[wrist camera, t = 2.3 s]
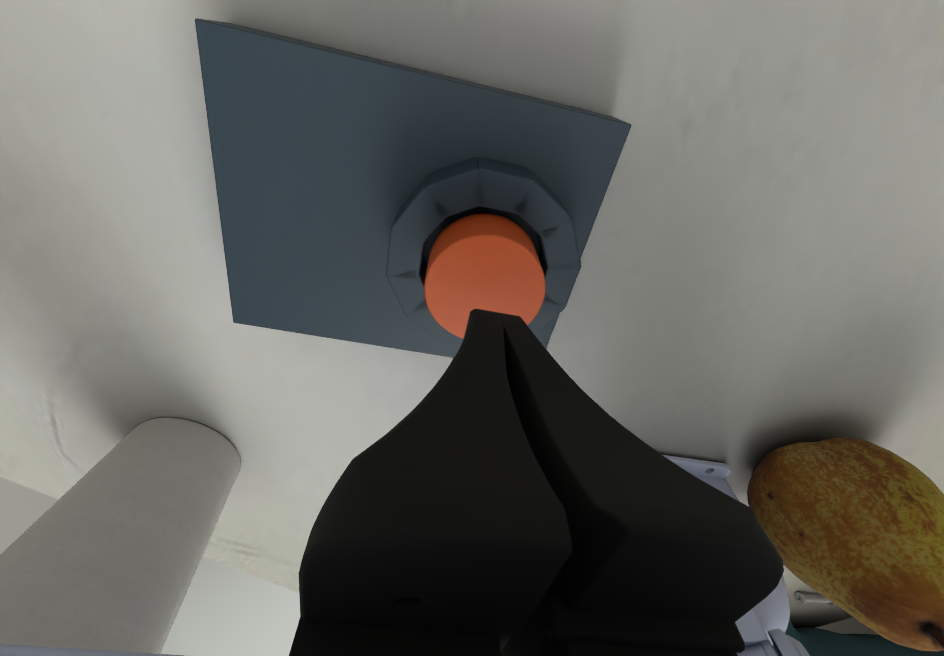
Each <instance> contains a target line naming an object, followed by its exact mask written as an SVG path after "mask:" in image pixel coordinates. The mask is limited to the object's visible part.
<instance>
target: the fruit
mask: <svg viewBox="0 0 944 656" xmlns="http://www.w3.org/2000/svg"><path fill="white" fill-rule="evenodd" d="M747 497H748V504H749V507H750V508H751V510H752V511H753V513H754V515H755V516H756V518H757V519H758V521H759V523H760V524H761V526H762V527H763V529H764V531H765V532H766V534H767V535H768V537H769V539H770V540H771V542H772V543H773V545H774V547H775V548H776V550H777V552H778V553H779V555H780V556H781V558H782V560H783V565H785V566H786V567H787V568H788V569H789V570H790V571H791V572H792V573H793V574H794V575H795V576H796V577H798V578H799V579H800V580H802V581H803V582H804V583H805V584H807V585H808V586H809V587H811V588H812V589H814V590H815V591H817V592H818V593H820V594H821V595H822V596H824V597H825V598H827V599H829V600H830V601H832V602H833V603H835V604H836V605H837V606H839V607H840V608H842V609H843V610H845V611H846V612H847V613H849V614H850V615H851V616H853V617H854V618H855V619H857V620H858V621H859V622H861V623H862V624H864V625H865V626H867V627H868V628H870V629H871V630H873V631H874V632H876V633H877V634H879V635H880V636H882V637H883V638H885V639H888V640H890V641H892V642H894V643H896V644H899V645H902V646H906V647H910V648H913V649H917V650H921V651H941V650H942V651H944V494H943V493H942V492H941V491H940V489H939V488H938V487H937V486H936V485H935V484H934V483H933V482H932V481H931V479H930V478H929V477H927V476H926V475H925V474H924V473H923V472H921V471H920V470H919V469H918V468H916V467H915V466H914V465H912V464H911V463H909V462H907V461H906V460H904V459H902V458H901V457H899V456H897V455H896V454H894V453H892V452H891V451H889V450H886V449H884V448H882V447H879V446H877V445H875V444H872V443H870V442H867V441H862V440H858V439H853V438H845V437H838V438H830V439H825V440H821V441H818V442H799V443H795V444H791V445H787V446H783V447H781V448H778V449H775V450H773V451H771V452H770V453H768V454H767V455H766V456H765V457H764V458H763V459H762V460H761V462H760V463H759V464H758V466H757V467H756V469H755V470H754V472H753V474H752V476H751V479H750V482H749V485H748V490H747Z"/></svg>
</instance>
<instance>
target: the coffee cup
mask: <svg viewBox="0 0 944 656" xmlns="http://www.w3.org/2000/svg"><path fill="white" fill-rule="evenodd" d="M240 466H241V461H240V457H239V454H238V452H237V450H236V449H235V448H234V446H233V445H232V444H231V443H230V442H229V441H228V440H227V439H226V438H225V437H223V436H222V435H221V434H219V433H218V432H216V431H214V430H212V429H211V428H209V427H206V426H204V425H202V424H199V423H196V422H193V421H189V420H184V419H178V418H156V419H151V420H148V421H145V422H143V423H141V424H139V425H138V426H137V427H136V428H135V429H134V430H132V431H131V432H130V433H129V434H128V435H127V436H126V437H125V438H124V439H123V440H122V441H121V442H120V443H119V444H118V445H117V446H115V447H114V448H113V449H112V450H111V451H110V452H109V453H108V454H107V455H106V456H105V457H104V458H103V459H102V460H101V461H100V462H98V463H97V464H96V465H95V466H94V467H93V468H92V469H91V470H90V471H89V472H88V473H87V474H86V475H85V476H84V477H83V478H82V479H80V480H79V481H78V482H77V483H76V484H75V485H74V486H73V487H72V488H71V489H70V490H69V491H68V492H67V493H66V494H65V495H63V496H62V497H61V498H60V499H59V500H58V501H57V502H56V503H55V504H54V505H53V506H52V507H51V508H50V509H49V510H48V511H46V512H45V513H44V514H43V515H42V516H41V517H40V518H39V519H38V520H37V521H36V522H35V523H34V524H33V525H32V526H31V527H29V529H27V531H25V532H24V533H23V534H22V535H21V536H20V537H19V538H18V539H17V540H16V541H15V542H13V543H12V544H11V545H10V546H9V547H8V548H7V549H6V550H5V551H4V552H3V553H2V554H1V555H0V644H10V645H26V646H42V647H57V648H73V649H88V650H104V651H120V652H135V653H151V654H160V653H161V650H162V648H163V646H164V644H165V641H166V639H167V637H168V634H169V632H170V630H171V627H172V625H173V623H174V620H175V618H176V616H177V613H178V611H179V609H180V607H181V604H182V602H183V599H184V597H185V595H186V593H187V590H188V588H189V586H190V583H191V581H192V579H193V576H194V574H195V572H196V569H197V567H198V565H199V563H200V560H201V558H202V556H203V553H204V551H205V549H206V546H207V544H208V542H209V540H210V537H211V535H212V533H213V530H214V528H215V526H216V523H217V521H218V519H219V516H220V514H221V512H222V510H223V507H224V505H225V503H226V500H227V498H228V496H229V493H230V491H231V489H232V487H233V484H234V482H235V480H236V477H237V475H238V473H239V470H240Z"/></svg>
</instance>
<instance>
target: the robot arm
mask: <svg viewBox="0 0 944 656" xmlns="http://www.w3.org/2000/svg"><path fill="white" fill-rule="evenodd" d="M730 473H731V468H730V467H729V465H728V464H725V463H718V462H711V461H704V460H696V459H689V458H682V457H675V456H668V455H661V454H660V453H658V452H657V451H656V450H654V449H653V448H651V447H650V446H648V445H647V444H646V443H644V442H643V441H642V440H640V439H639V438H638V437H636V436H635V435H634V434H633V433H631V432H630V431H629V430H627V429H626V428H625V427H623V426H622V425H621V424H620V423H618V422H617V421H616V420H615V419H614V418H612V417H611V416H610V415H609V414H608V413H606V412H605V411H604V410H603V409H602V408H601V407H600V406H599V405H598V404H597V403H595V402H594V401H593V400H592V399H591V398H590V397H589V396H588V395H587V394H586V393H585V392H584V391H583V390H582V389H581V388H580V387H579V386H578V385H577V384H576V383H575V382H574V381H573V380H572V379H571V378H570V377H569V376H568V374H567V373H566V372H565V371H564V370H563V369H562V368H561V367H560V366H559V364H558V363H557V362H556V361H555V360H554V358H553V357H552V356H551V355H550V354H549V352H548V351H547V350H546V349H545V347H544V346H543V345H542V344H541V342H540V341H539V340H538V338H537V337H536V336H535V335H534V333H533V332H532V331H531V329H530V328H529V327H528V326H527V324H526V323H525V322H524V320H523V319H522V318H521V317H520V316H516V315H510V314H504V313H499V312H493V311H487V310H482V309H476V308H475V309H473V310H472V311H470V314H469V319H468V323H467V327H466V331H465V335H464V339H463V342H462V344H461V347H460V348H459V350H458V352H457V354H456V355H455V357H454V359H453V360H452V362H451V364H450V365H449V367H448V368H447V370H446V371H445V373H444V374H443V376H442V377H441V378H440V380H439V381H438V382H437V384H436V385H435V386H434V387H433V389H432V390H431V391H430V392H429V393H428V394H427V395H426V397H425V398H424V399H423V400H422V401H421V402H420V403H419V404H418V405H417V406H416V407H415V409H414V410H413V411H412V412H410V413H409V414H408V415H407V416H406V417H405V418H404V419H403V420H402V421H401V422H399V423H398V424H397V425H396V426H395V427H394V428H393V429H392V430H391V431H389V432H388V433H387V434H386V435H385V436H383V437H382V438H381V439H379V440H378V441H377V442H375V443H374V444H373V445H371V446H370V447H369V448H367V449H366V450H365V451H363V452H362V453H360V454H359V455H358V456H356V457H355V458H354V459H352V461H351V462H350V464H349V465H348V467H347V468H346V470H345V471H344V473H343V474H342V476H341V477H340V479H339V480H338V482H337V483H336V485H335V486H334V488H333V490H332V491H331V493H330V494H329V496H328V498H327V500H326V501H325V503H324V505H323V507H322V509H321V511H320V513H319V515H318V517H317V519H316V521H315V523H314V526H313V528H312V530H311V533H310V536H309V539H308V542H307V546H306V549H305V552H304V555H303V559H302V562H301V567H300V571H299V590H300V614H301V617H300V620H299V624H298V627H297V630H296V634H295V637H294V641H293V644H292V647H291V651H290V654H289V656H810V655H809V653H808V652H807V650H806V649H805V648H804V646H803V645H802V644H801V643H800V642H799V641H797V640H796V639H794V638H792V637H791V636H789V635H786V634H785V631H786V629H787V626H788V623H789V618H790V605H789V597H788V592H787V588H786V584H785V581H784V578H783V576H782V574H783V572H784V568H783V560H782V558H781V556H780V555H779V553H778V552H777V550H776V548H775V547H774V545H773V543H772V542H771V540H770V539H769V537H768V535H767V534H766V532H765V531H764V529H763V527H762V526H761V524H760V523H759V521H758V519H757V518H756V516H755V515H754V513H753V511H752V510H751V508H750V507H748V506H746V505H744V504H743V503H741V502H739V501H738V499H737V497H736V496H735V494H734V492H733V491H732V489H731V488H730V486H729V484H728V483H727V481H726V478H727V477H728V476H729V474H730ZM772 645H773V646H774V648H775V650H776V652H777V653H776V652H775V650H774V648H773V646H772ZM777 654H778V655H777ZM0 656H181V655H167V654H166V655H165V654H151V653H135V652H120V651H104V650H88V649H73V648H57V647H42V646H26V645H10V644H0Z"/></svg>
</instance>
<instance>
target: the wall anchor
mask: <svg viewBox="0 0 944 656" xmlns="http://www.w3.org/2000/svg"><path fill="white" fill-rule="evenodd" d="M795 599H796V601H797V603H798V604H799V605H801V606H804V605H805V604H806V602H817V603H827V604H828V605H830V606H832V605H833V604H835V603H833V602H832V601H830V600H829V599H827V598H825V597H810V596H803V594H801V593H800V592H797V593H795Z"/></svg>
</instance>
